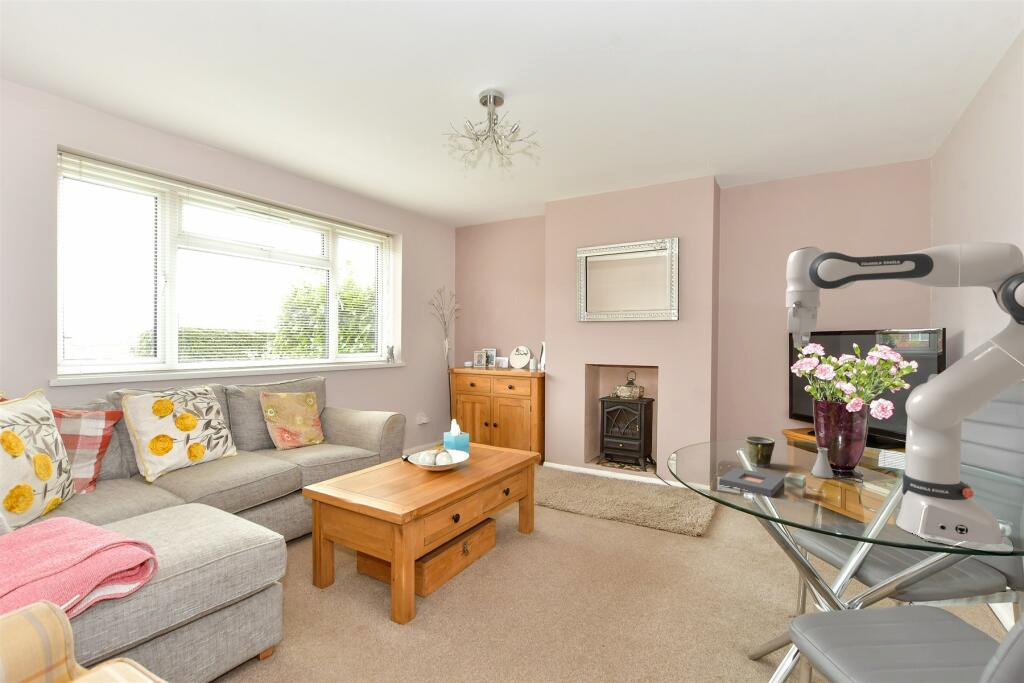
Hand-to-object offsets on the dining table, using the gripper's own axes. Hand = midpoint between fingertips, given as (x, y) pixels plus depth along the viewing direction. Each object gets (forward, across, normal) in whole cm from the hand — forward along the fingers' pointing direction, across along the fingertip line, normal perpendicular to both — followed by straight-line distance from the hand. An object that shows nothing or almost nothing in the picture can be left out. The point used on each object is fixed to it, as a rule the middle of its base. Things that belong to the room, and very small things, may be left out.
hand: (801, 347), depth 146 cm
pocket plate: (+48, +6, +15) cm, 51 cm away
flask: (+48, +32, -1) cm, 58 cm away
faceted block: (+48, +6, +2) cm, 49 cm away
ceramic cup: (+48, +30, +19) cm, 60 cm away
